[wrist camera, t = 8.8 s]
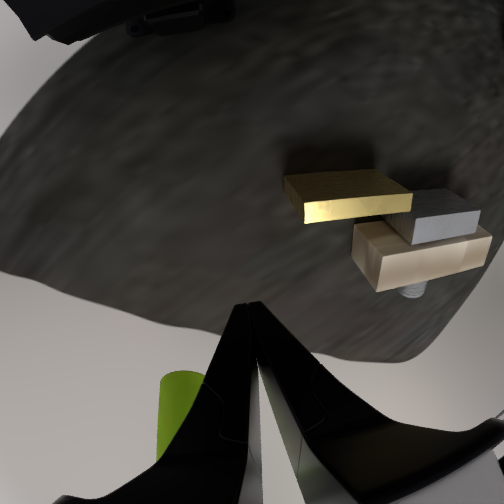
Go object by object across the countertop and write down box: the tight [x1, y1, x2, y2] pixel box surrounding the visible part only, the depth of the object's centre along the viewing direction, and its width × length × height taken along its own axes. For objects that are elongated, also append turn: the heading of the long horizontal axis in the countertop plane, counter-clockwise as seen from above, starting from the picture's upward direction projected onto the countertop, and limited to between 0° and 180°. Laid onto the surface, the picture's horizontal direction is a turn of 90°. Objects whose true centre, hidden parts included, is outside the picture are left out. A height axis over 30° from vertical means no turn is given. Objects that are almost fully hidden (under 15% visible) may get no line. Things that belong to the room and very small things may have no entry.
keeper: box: [283, 169, 413, 223], centre depth 18 cm, size 1×7×5 cm, turn 94°
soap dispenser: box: [156, 371, 205, 462], centre depth 22 cm, size 6×7×20 cm
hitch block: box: [351, 220, 492, 292], centre depth 22 cm, size 3×12×5 cm, turn 95°
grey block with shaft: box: [381, 188, 481, 298], centre depth 22 cm, size 9×7×5 cm
